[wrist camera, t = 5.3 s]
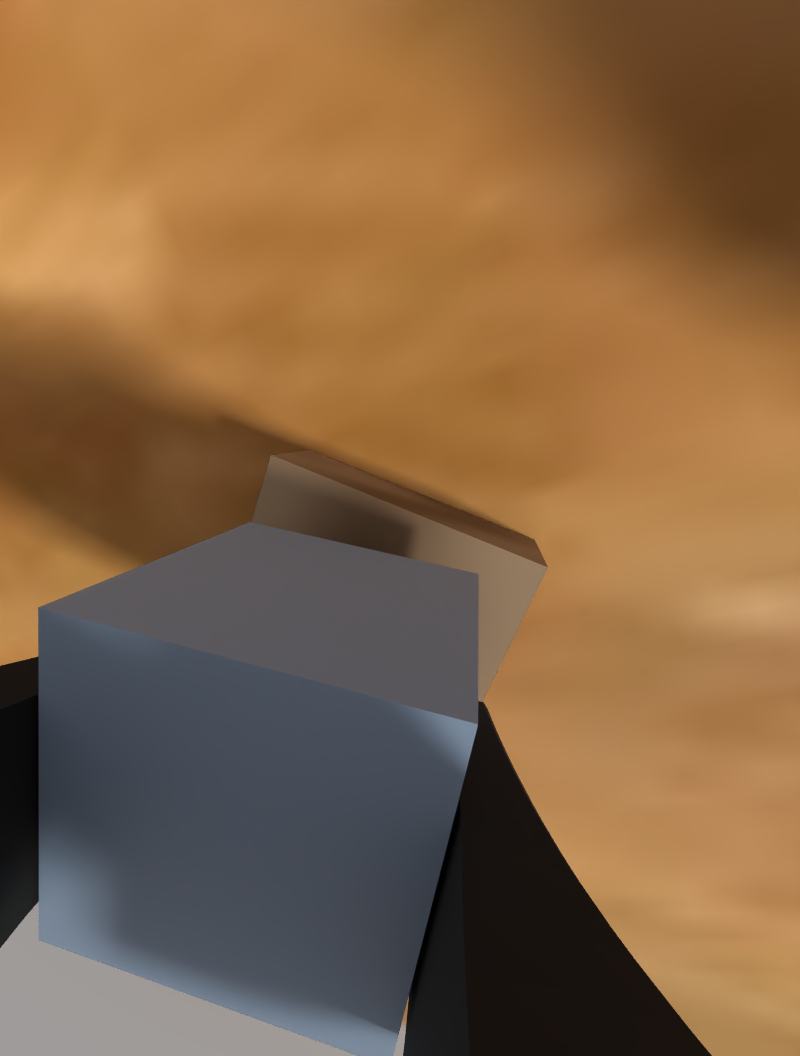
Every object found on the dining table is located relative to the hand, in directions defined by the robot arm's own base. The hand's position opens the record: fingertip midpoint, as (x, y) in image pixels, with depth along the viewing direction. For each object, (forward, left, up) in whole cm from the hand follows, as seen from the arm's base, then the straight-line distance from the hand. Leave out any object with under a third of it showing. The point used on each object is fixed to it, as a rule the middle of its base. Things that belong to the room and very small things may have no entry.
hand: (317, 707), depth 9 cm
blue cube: (0, 0, -2) cm, 2 cm away
